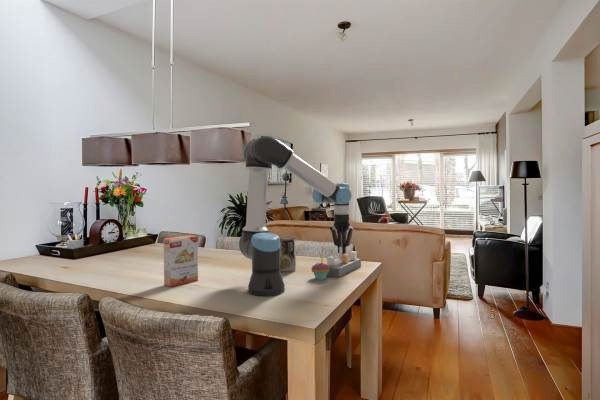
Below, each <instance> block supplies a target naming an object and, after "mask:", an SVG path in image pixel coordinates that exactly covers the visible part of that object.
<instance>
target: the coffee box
mask: <svg viewBox="0 0 600 400" xmlns="http://www.w3.org/2000/svg"><path fill="white" fill-rule="evenodd" d="M279 239H280V272H295V271H296V270H297V259H296V258H297V257H296V255H297V254H296V250H297V249H296V247H297V246H296V237H292V238H291V237H279Z"/></svg>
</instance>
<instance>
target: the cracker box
mask: <svg viewBox="0 0 600 400" xmlns="http://www.w3.org/2000/svg"><path fill="white" fill-rule="evenodd" d="M198 240H199V237H198V236H197V235H192V234H191V235H183V236H173V237H172V236H171V237H165V238H163V283H164V285H165V286H167V287H170V288H172V287H175V286H179V285H184V284H189V283H193V282H197V281H199V244H198V243H199V241H198Z"/></svg>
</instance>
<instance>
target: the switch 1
mask: <svg viewBox="0 0 600 400" xmlns="http://www.w3.org/2000/svg"><path fill="white" fill-rule="evenodd" d="M334 262H335V256H328V257H326V265H328V266H333V265H334Z"/></svg>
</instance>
